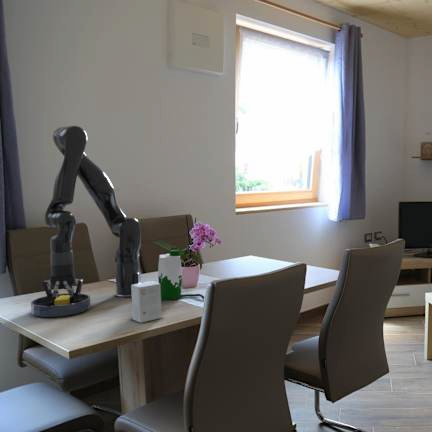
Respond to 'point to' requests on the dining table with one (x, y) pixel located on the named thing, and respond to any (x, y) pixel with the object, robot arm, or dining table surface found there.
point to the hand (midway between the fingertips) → (64, 306)
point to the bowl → (47, 309)
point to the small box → (146, 301)
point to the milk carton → (170, 275)
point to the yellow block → (62, 300)
